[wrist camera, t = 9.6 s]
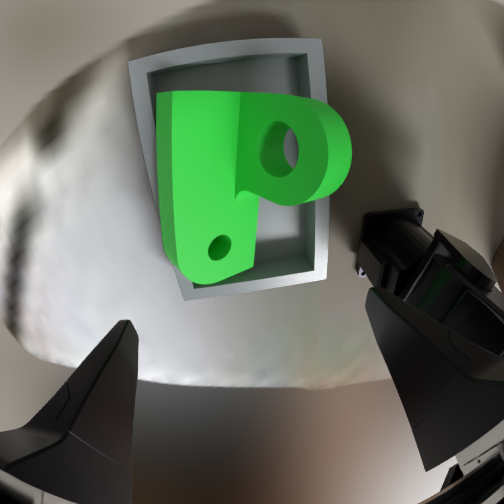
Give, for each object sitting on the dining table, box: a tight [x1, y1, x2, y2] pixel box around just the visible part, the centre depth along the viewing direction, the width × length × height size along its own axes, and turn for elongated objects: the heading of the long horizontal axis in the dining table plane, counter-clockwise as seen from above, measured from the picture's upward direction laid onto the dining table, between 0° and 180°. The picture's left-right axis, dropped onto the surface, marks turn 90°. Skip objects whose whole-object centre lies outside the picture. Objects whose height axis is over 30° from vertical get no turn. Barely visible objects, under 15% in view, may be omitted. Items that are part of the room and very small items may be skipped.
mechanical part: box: [156, 91, 352, 284], centre depth 14 cm, size 12×6×8 cm
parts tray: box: [128, 38, 330, 301], centre depth 17 cm, size 11×17×3 cm, turn 6°
